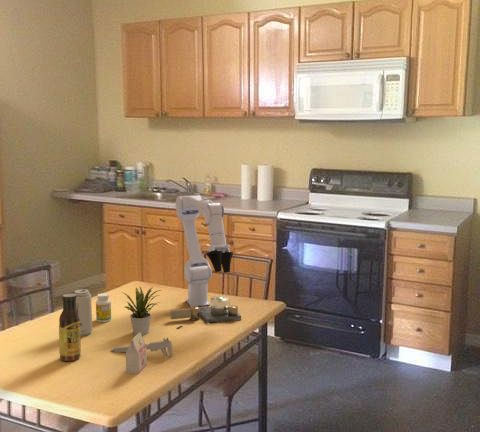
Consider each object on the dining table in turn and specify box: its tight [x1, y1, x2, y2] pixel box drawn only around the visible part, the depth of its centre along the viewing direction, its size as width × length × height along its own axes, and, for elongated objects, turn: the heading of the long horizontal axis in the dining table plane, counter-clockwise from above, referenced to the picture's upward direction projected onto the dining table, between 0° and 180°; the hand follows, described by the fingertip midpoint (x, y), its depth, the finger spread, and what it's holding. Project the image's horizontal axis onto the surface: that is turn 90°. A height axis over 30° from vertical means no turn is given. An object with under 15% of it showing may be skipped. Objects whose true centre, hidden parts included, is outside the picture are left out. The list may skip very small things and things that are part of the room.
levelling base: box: [176, 295, 242, 330], centre depth 213 cm, size 17×25×7 cm
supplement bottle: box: [95, 292, 112, 323], centre depth 211 cm, size 5×5×10 cm
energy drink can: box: [73, 288, 93, 337], centre depth 197 cm, size 6×6×15 cm
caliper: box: [110, 337, 173, 358], centre depth 180 cm, size 20×1×6 cm, turn 77°
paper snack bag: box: [125, 332, 148, 375], centre depth 168 cm, size 4×7×10 cm, turn 169°
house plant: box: [121, 285, 162, 336], centre depth 197 cm, size 14×14×16 cm
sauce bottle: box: [58, 293, 82, 362], centre depth 175 cm, size 6×6×20 cm
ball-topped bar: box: [169, 306, 201, 321], centre depth 212 cm, size 11×4×4 cm, turn 108°
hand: (222, 271), depth 208 cm, fingers open, 7 cm apart
